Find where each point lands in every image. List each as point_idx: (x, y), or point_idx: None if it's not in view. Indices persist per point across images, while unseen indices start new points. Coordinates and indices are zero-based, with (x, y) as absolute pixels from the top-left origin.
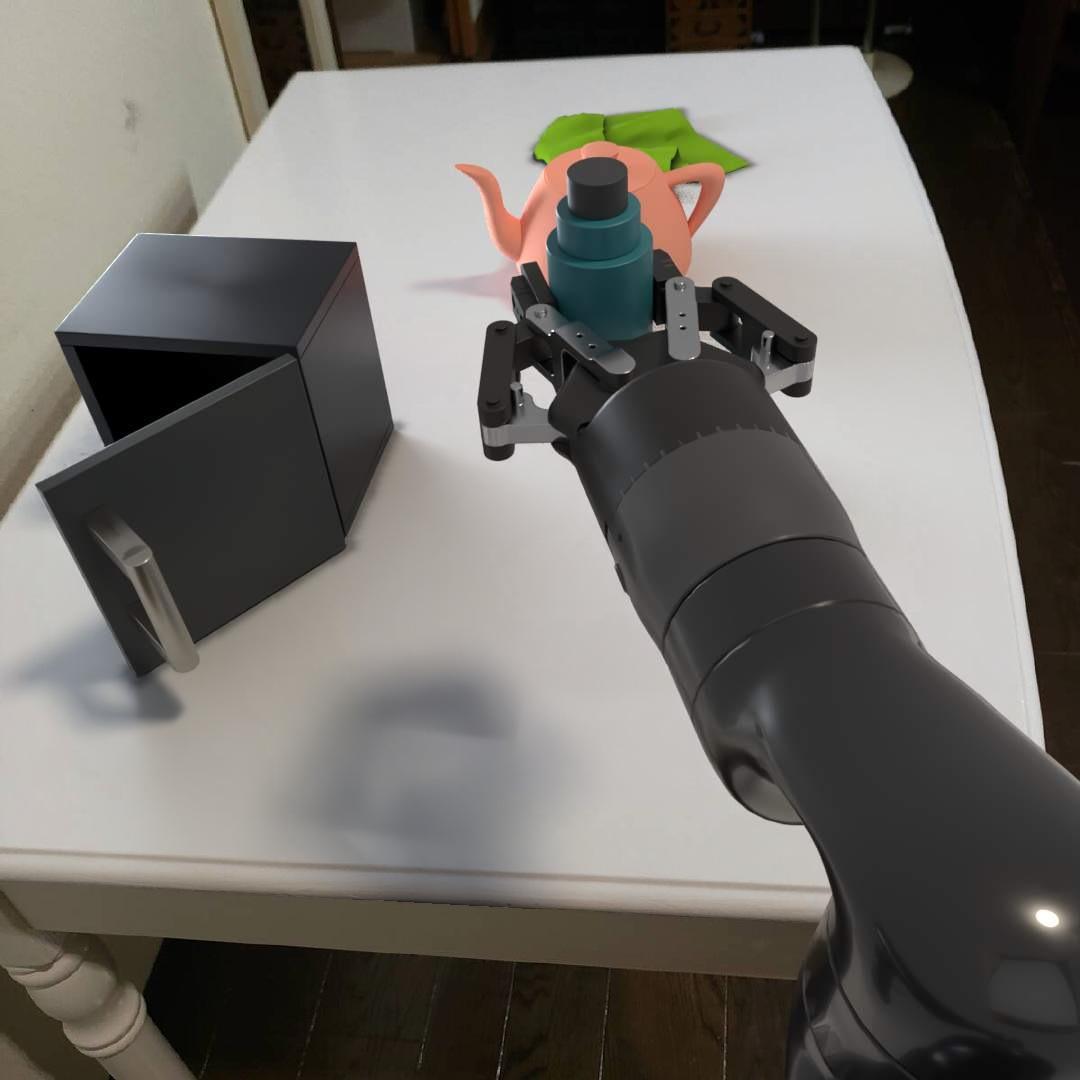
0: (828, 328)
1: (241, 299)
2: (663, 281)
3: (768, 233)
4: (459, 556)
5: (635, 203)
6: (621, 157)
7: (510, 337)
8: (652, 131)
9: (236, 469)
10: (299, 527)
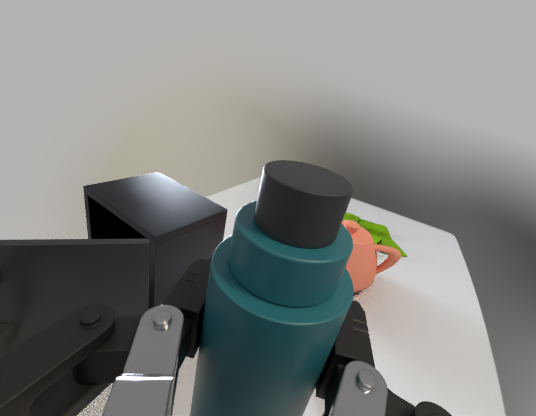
0: (426, 346)
1: (160, 208)
2: (344, 357)
3: (408, 286)
4: (189, 380)
5: (346, 244)
6: (359, 230)
7: (78, 343)
8: (374, 229)
9: (93, 282)
10: None
